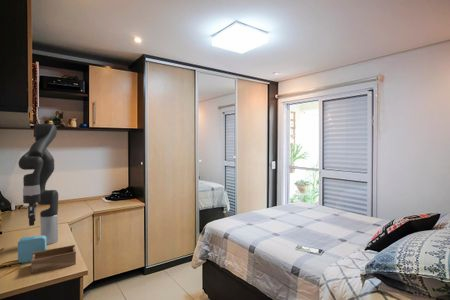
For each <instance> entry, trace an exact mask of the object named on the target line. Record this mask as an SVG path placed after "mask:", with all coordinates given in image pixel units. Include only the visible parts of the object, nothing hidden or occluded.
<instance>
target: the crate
mask: <svg viewBox="0 0 450 300" xmlns="http://www.w3.org/2000/svg"><path fill="white" fill-rule="evenodd" d="M76 257H77V251H76V245H75V244H72V245H67V246H62V247H61V246H60V247H55V248H49V249H47V250H43V251H38V252H33V257H32V260H31V261H30V263H31V274H36V273H41V272H45V271H50V270H54V269H59V268H64V267H69V266H74V265H76V264H77V262H76V261H77V258H76Z"/></svg>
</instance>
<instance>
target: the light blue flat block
mask: <svg viewBox="0 0 450 300" xmlns="http://www.w3.org/2000/svg"><path fill="white" fill-rule="evenodd" d="M47 245H48V244H47V243H46V236H44V235H42V236H41V235H35V236H27V237H22V238H20V240H18V242H17V262H18V263H19V264H23V263H31V260H32V257H33V252H38V251H43V250H48V249H47V248H48V247H47Z"/></svg>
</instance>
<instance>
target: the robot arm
mask: <svg viewBox="0 0 450 300" xmlns="http://www.w3.org/2000/svg"><path fill="white" fill-rule="evenodd" d="M33 130H34V132H33V133H34V139H35V141H34V142H33V144H31V146H30V148H29V150H28V151H27V152H25V153H24V154H23V155H22V156H21V157H20V158H19V160H18V168H19V169H21V170H24V171H28V170H29V171H31V170H32V173H27V174H24V175H23V178H22V179H23V182H22V184H23V188H22V201H23V202H22V203H23V204H25V205H26V204H27V206H26V207H27V208H26V209H27V219H28V226H29V227H32V226H33V227H34V225H35V221H36V214H37V208H38V207H37V205H39V206H47V205H48V206H49V207H48V208H47V209H44V210H41V211H40V213H39V215H40V216H39V220H40V222H39V224H40V236H42V235H44V236H46V243H47V245H52V244H55V243H57V242H58V241H59V222H58V221H59V218H58V217H59V215H58V214H59V213H58V212H59V211H58V210H59V192H58V190H56V189H46V185H47V182H48V180H49V178H50V177H51V176H52V174H53V173H54V171H55V159H54V156H53V155H52V154H51V152H50V151H49V150H48V147H49V146H50V144H51V143H52V142H53V141H54V139H55V138H56V136H57V134H58V133H57V132H58V129H57V126H56V125H55V124H53V123H36V124H35V125H34V129H33Z"/></svg>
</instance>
